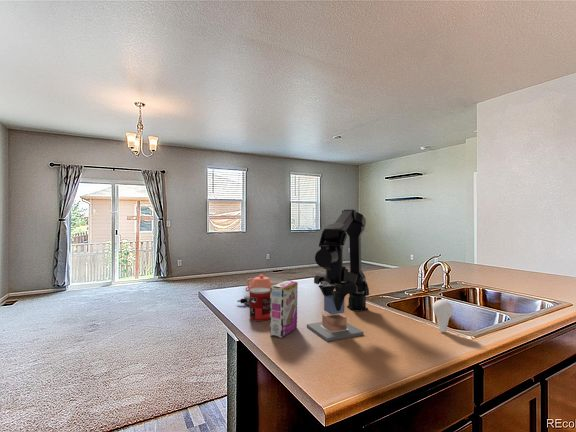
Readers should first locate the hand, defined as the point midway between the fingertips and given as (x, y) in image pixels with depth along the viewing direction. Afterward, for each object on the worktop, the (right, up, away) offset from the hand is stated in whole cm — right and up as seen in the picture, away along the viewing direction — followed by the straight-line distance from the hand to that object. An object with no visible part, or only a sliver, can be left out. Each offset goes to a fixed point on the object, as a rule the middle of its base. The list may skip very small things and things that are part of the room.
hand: (334, 308), depth 107 cm
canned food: (-27, -8, +13) cm, 31 cm away
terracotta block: (0, -6, 0) cm, 7 cm away
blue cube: (0, -1, 0) cm, 1 cm away
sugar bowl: (-30, -8, +48) cm, 57 cm away
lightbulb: (+37, -8, -1) cm, 37 cm away
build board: (0, -8, 0) cm, 8 cm away
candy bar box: (-17, -8, -1) cm, 19 cm away
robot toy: (-30, -8, +31) cm, 44 cm away
